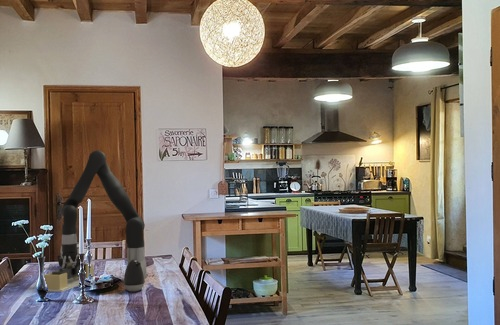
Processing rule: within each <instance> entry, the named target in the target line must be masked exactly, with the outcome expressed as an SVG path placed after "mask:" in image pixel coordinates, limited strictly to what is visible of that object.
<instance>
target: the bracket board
mask: <svg viewBox="0 0 500 325" xmlns="http://www.w3.org/2000/svg"><path fill="white" fill-rule="evenodd" d="M85 264H86V266H85V272H86V278H88V276H89V266H88V264H89V263H85ZM90 264H91V268H90V273H91V275H92V276H94V264H93V263H90ZM44 278H45V281H46V284H47V287H48V291H47V292H51V293H54V292H55V293H57V292H59V293H62V292H65V291H68V290H70V289H73V288H75V287H78V286H80V285H79V283H80V281H79V276H76V277H73V278H70V279H68V280H67V273H63V274H60V275H52V272H49V273H46V274H44V275H43V279H44Z"/></svg>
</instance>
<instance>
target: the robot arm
mask: <svg viewBox="0 0 500 325" xmlns="http://www.w3.org/2000/svg"><path fill="white" fill-rule="evenodd" d="M96 175H97V176H98V178H99V180H100V182H101V185H102V187H103V189H104V191H105V193H106V195H107V196H108V198H109V200H110V201H111V203H112V204H113V205H114V207H115V208H116V209H117V210H118V211H119V212H120V213H121V214H122V216H123V218H124V220H125V222H126V224H125V243H126V254H127V255H126V257H127V258H126V260H127V261H126V262H127V265H128V263H129V262H130V261H131V260H137V261H138V262H140V263H141V264H140V265H141V267H142V270H143V273H144V279H147V260H146V259H145V241H144V230H145V227H146V226H145V225H146V224H145V221H144V219H142V217H141V216H140V214H139V213H138V211H137V209H135V207H134V205H133V204H132V200H131V199H130V196H129V195H128V194H127V192H126V190H125V188H124V186H123V184H122V183H121V182H120V181H119V179H118V178H117V177H116V176H115V175H114V173H113V172H112V171H111V168H110V166H109V164H108V162H107V157H106V154H105V153H104V152H103V151H101V150H99V149H98V150H93V151H91V153H89V155H88V159H87V162H86V165H85V168H84V170H83V172H82V174H81V176H80V177H79V179H78V181H77V182H76V184H75V185H74V187H73V190H72V191H71V192H70V195H69V196H68V198H67V199H66V201H65V202H64V203H63V205H62V207H61V210H60V214H61V216H62V217H63V224H62V227H61V234H62V235H61V246H62V252H63V253H62V254H58V255H57V256H56V257H57V262H58V266H59V267H61V269H62V268H65V267H67V264H68V263H69V262H70V263H71V264H72V267H73V275H76V274H77V267H79V266H80V259H79V255H77V242H78V238H77V220H78V210H77V208H78V206H79V205H80V204H81V203H82V202H83V201H84V199H85V197H86V195H87V194H88V191H89V189H90V187H91V185H92V183H93V180H94V178H95V176H96ZM63 258H64V260H63ZM76 259H77V261H76ZM73 261H74V262H73ZM127 265H126V266H127Z"/></svg>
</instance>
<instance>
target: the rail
mask: <svg viewBox="0 0 500 325" xmlns="http://www.w3.org/2000/svg"><path fill="white" fill-rule="evenodd" d="M86 264H87V263H84V270H85V266H86ZM79 270H80V266H79V267H77V274H76V275H73V267H72V266H68V267H65V268H62V267H61V268H58V269H57V270H53V271H51V273H52V275H60V274H63V273H67V280H68V279H70V278H73V277H76V276H79V275H78V273H79Z"/></svg>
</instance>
